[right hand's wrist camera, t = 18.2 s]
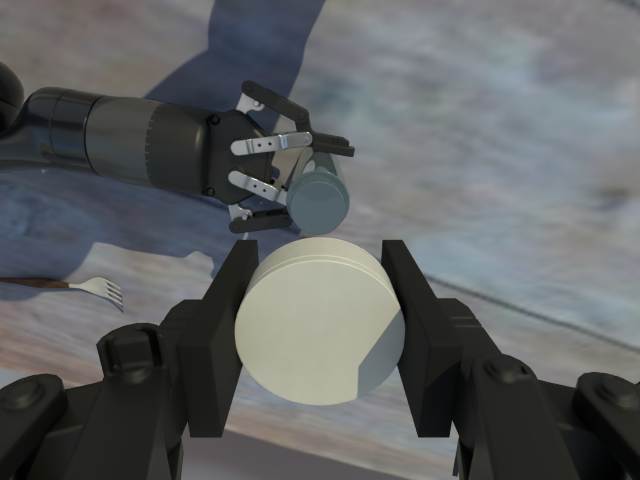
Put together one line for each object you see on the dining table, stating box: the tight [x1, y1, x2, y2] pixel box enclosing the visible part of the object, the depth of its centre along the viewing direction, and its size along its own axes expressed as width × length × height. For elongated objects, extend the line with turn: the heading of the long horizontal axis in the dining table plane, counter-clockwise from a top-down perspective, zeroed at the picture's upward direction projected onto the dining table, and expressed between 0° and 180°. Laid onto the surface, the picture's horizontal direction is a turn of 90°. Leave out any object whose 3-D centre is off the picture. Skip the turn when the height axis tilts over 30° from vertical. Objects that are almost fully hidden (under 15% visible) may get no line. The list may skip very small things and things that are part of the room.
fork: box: [0, 277, 122, 305], centre depth 44 cm, size 3×16×2 cm, turn 84°
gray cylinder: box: [286, 147, 350, 235], centre depth 31 cm, size 4×4×19 cm
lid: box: [235, 237, 405, 405], centre depth 11 cm, size 5×5×2 cm
